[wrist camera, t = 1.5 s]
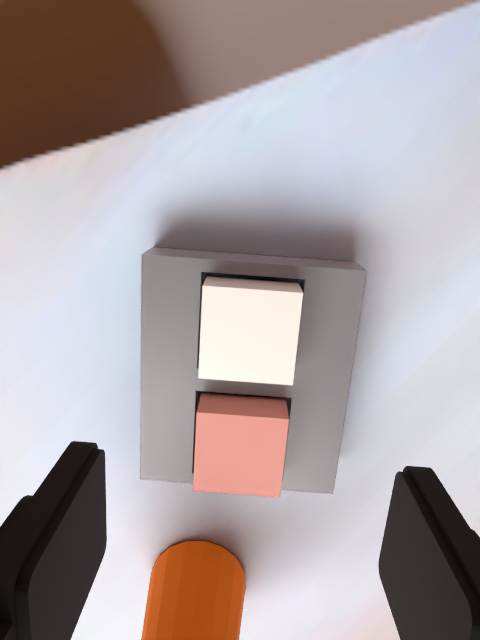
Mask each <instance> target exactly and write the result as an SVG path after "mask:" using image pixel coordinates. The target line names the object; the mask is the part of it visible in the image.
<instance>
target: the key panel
mask: <svg viewBox="0 0 480 640" xmlns="http://www.w3.org/2000/svg"><path fill="white" fill-rule="evenodd" d="M206 272H211V273H224V274H238V275H252V276H265V277H279V278H293V279H299V280H298V283H299V285H300V287H301V289H302V291H303V300H302V309H301V318H300V327H299V335H298V344H297V353H296V362H295V371H294V380H293V385H281V384H268V383H254V382H241V381H227V380H214V379H201V378H198V372H199V351H200V329H201V308H202V286H203V284H204V282H205V280H206ZM366 274H367V271H366V270H365V269H364V268H362V267H361V266H360V265H358V264H357V263H356V262H351V261H337V260H324V259H310V258H296V257H283V256H269V255H255V254H242V253H228V252H214V251H201V250H187V249H173V248H160V247H153V248H151V249H150V250H148V251H146V252H145V253H143V254H142V284H141V435H140V479H143V480H157V481H170V482H183V483H193V480H194V458H195V437H196V415H197V409H198V405H199V401H200V391H206V392H220V393H233V394H247V395H260V396H273V397H286V403H287V410H288V416H289V424H288V433H287V442H286V451H285V460H284V469H283V477H282V486H281V490H289V491H303V492H316V493H329V494H333V491H334V485H335V478H336V472H337V465H338V458H339V452H340V445H341V439H342V432H343V426H344V419H345V412H346V406H347V399H348V393H349V386H350V380H351V373H352V366H353V360H354V353H355V347H356V340H357V334H358V327H359V320H360V314H361V307H362V301H363V294H364V288H365V281H366Z"/></svg>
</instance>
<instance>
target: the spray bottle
mask: <svg viewBox="0 0 480 640" xmlns="http://www.w3.org/2000/svg"><path fill="white" fill-rule="evenodd" d="M244 594H245V572H244V570H243V568H242V567H241V565H240V563H239V561H238V560H237V558H236V556H234V555H233V554H232V553H230V552H229V551H228V550H226V549H225V548H224V547H222V546H219V545H216V544H213V543H210V542H207V541H185V542H182V543H180V544H177V545H174V546H172V547H169V548H168V549H167V550H166V551H165V552H164V553H163V554H162V555H161V556H160V557H158V558H157V560H156V562H155V565H154V567H153V570H152V573H151V577H150V584H149V591H148V598H147V605H146V612H145V619H144V626H143V632H142V639H141V640H239V634H240V626H241V618H242V610H243V602H244Z"/></svg>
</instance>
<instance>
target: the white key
mask: <svg viewBox="0 0 480 640" xmlns="http://www.w3.org/2000/svg"><path fill="white" fill-rule="evenodd" d="M302 300H303V291H302V289H301V287H300V285H299V283H292V282H278V281H265V280H251V279H238V278H224V277H210V276H207V278H206V280H205V282H204V284H203V286H202V308H201V329H200V351H199V372H198V378H201V379H214V380H227V381H241V382H254V383H268V384H281V385H293V380H294V371H295V362H296V353H297V344H298V335H299V327H300V318H301V309H302Z"/></svg>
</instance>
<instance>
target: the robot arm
mask: <svg viewBox="0 0 480 640" xmlns="http://www.w3.org/2000/svg"><path fill="white" fill-rule="evenodd" d="M106 540H107V536H106V484H105V452H104V450H101V449H98V446H97V444H96V443H90V442H77V441H73V442H71V443H70V444H69V446H68V447H67V448H66V450H65V451H64V453H63V454H62V455H61V457H60V458H59V460H58V461H57V463H56V464H55V465H54V467H53V468H52V470H51V471H50V473H49V474H48V475H47V477H46V478H45V480H44V481H43V483H42V484H41V485H40V487H39V488H38V490H37V491H36V492H35V494H34V495H33V496H29V495H27V496H25V497H23V498H22V499H21V500H20V501H19V502H18V504H17V505H16V506H15V508H14V509H13V510H12V512H11V513H10V514H9V516H8V517H7V519H6V520H5V521H4V523H3V524H2V525H1V527H0V640H70V639H71V637H72V634H73V632H74V629H75V627H76V624H77V622H78V619H79V617H80V614H81V612H82V609H83V607H84V604H85V602H86V599H87V597H88V594H89V592H90V589H91V587H92V584H93V582H94V579H95V577H96V574H97V572H98V569H99V567H100V564H101V562H102V559H103V556H104V553H105V549H106ZM379 574H380V578H381V581H382V585H383V588H384V591H385V594H386V597H387V600H388V603H389V606H390V609H391V612H392V615H393V618H394V621H395V624H396V627H397V630H398V633H399V636H400V639H401V640H480V537H479V536H478V535H477V534H476V532H475V531H474V530H472V529H470V527H469V526H468V524H467V522H466V521H465V519H464V518H463V516H462V515H461V513H460V512H459V510H458V508H457V507H456V505H455V504H454V502H453V501H452V499H451V497H450V496H449V494H448V493H447V491H446V490H445V488H444V487H443V485H442V483H441V482H440V480H439V479H438V477H437V476H436V474H435V472H434V471H433V470H432V469H431V468H427V467H414V466H406V467H405V468H404V470H403V472H397V474H396V476H395V481H394V486H393V491H392V496H391V501H390V506H389V512H388V517H387V522H386V527H385V532H384V537H383V542H382V547H381V552H380V557H379Z"/></svg>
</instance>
